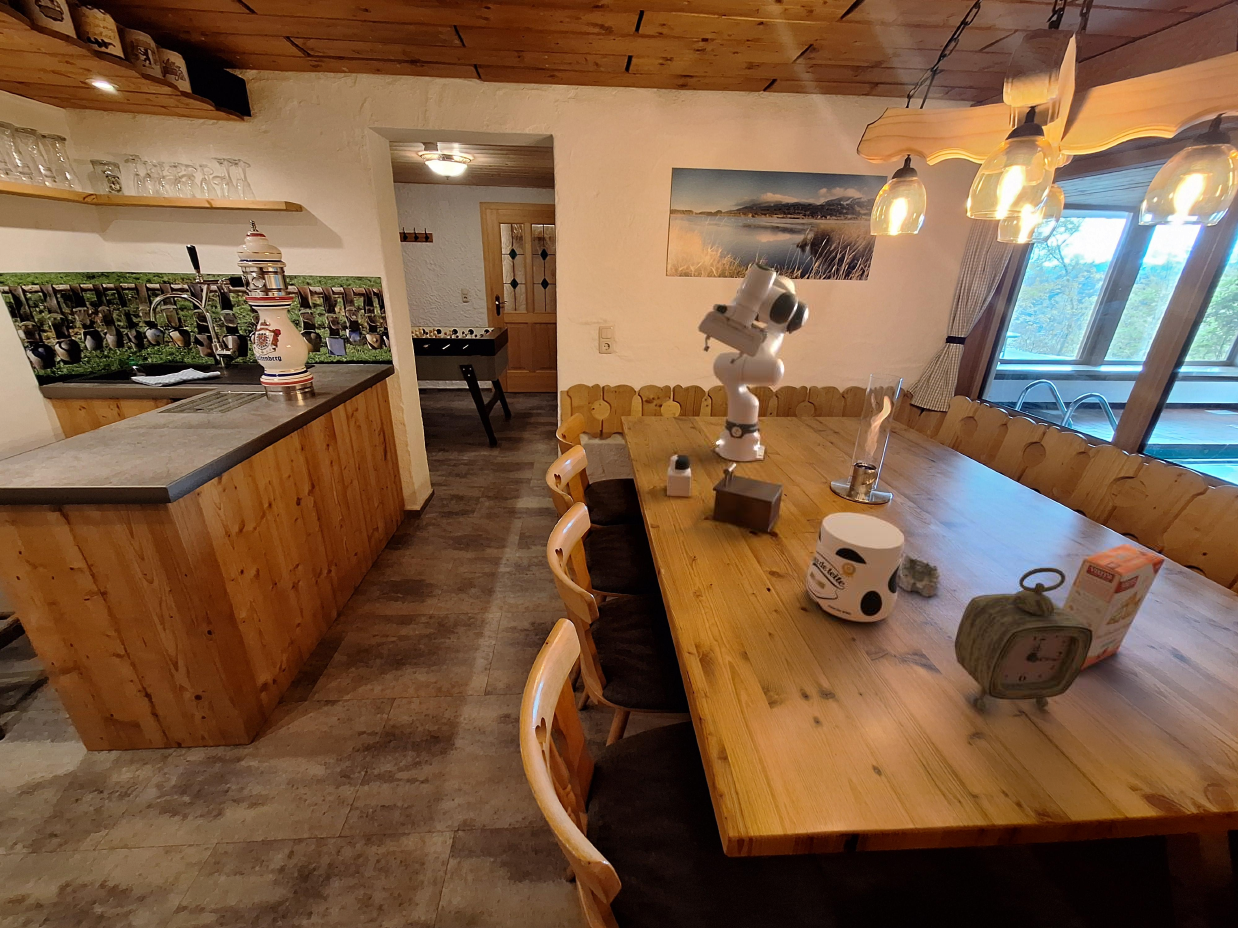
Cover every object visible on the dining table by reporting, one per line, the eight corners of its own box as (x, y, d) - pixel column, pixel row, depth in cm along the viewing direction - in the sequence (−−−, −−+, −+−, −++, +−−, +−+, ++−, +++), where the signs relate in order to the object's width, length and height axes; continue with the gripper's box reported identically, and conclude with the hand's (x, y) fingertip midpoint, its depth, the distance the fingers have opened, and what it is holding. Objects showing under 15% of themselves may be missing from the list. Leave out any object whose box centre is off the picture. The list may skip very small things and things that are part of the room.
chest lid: (712, 490, 137) (714, 470, 135) (727, 476, 147) (729, 457, 145) (771, 504, 129) (774, 483, 127) (782, 487, 139) (785, 468, 137)
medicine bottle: (688, 487, 160) (691, 453, 156) (689, 497, 153) (692, 461, 149) (667, 486, 161) (669, 452, 156) (666, 495, 154) (668, 460, 150)
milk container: (789, 603, 104) (802, 529, 98) (821, 571, 116) (835, 502, 109) (876, 643, 93) (897, 562, 87) (901, 602, 105) (921, 529, 99)
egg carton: (933, 600, 106) (938, 584, 105) (894, 587, 110) (899, 572, 109) (937, 577, 114) (942, 562, 113) (901, 566, 118) (905, 551, 117)
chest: (712, 519, 140) (715, 491, 136) (727, 503, 150) (729, 476, 147) (767, 533, 132) (771, 504, 129) (778, 515, 143) (782, 488, 139)
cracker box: (1079, 675, 86) (1125, 575, 79) (1040, 652, 92) (1080, 556, 84) (1120, 653, 92) (1168, 557, 84) (1082, 633, 97) (1123, 541, 89)
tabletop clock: (974, 717, 78) (1023, 585, 69) (937, 673, 86) (976, 551, 77) (1060, 714, 79) (1120, 583, 70) (1015, 671, 87) (1063, 550, 78)
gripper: (769, 331, 154) (747, 371, 158) (711, 303, 156) (691, 343, 160) (770, 331, 148) (747, 373, 152) (710, 302, 150) (689, 344, 154)
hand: (718, 357), depth 156 cm, fingers open, 8 cm apart
